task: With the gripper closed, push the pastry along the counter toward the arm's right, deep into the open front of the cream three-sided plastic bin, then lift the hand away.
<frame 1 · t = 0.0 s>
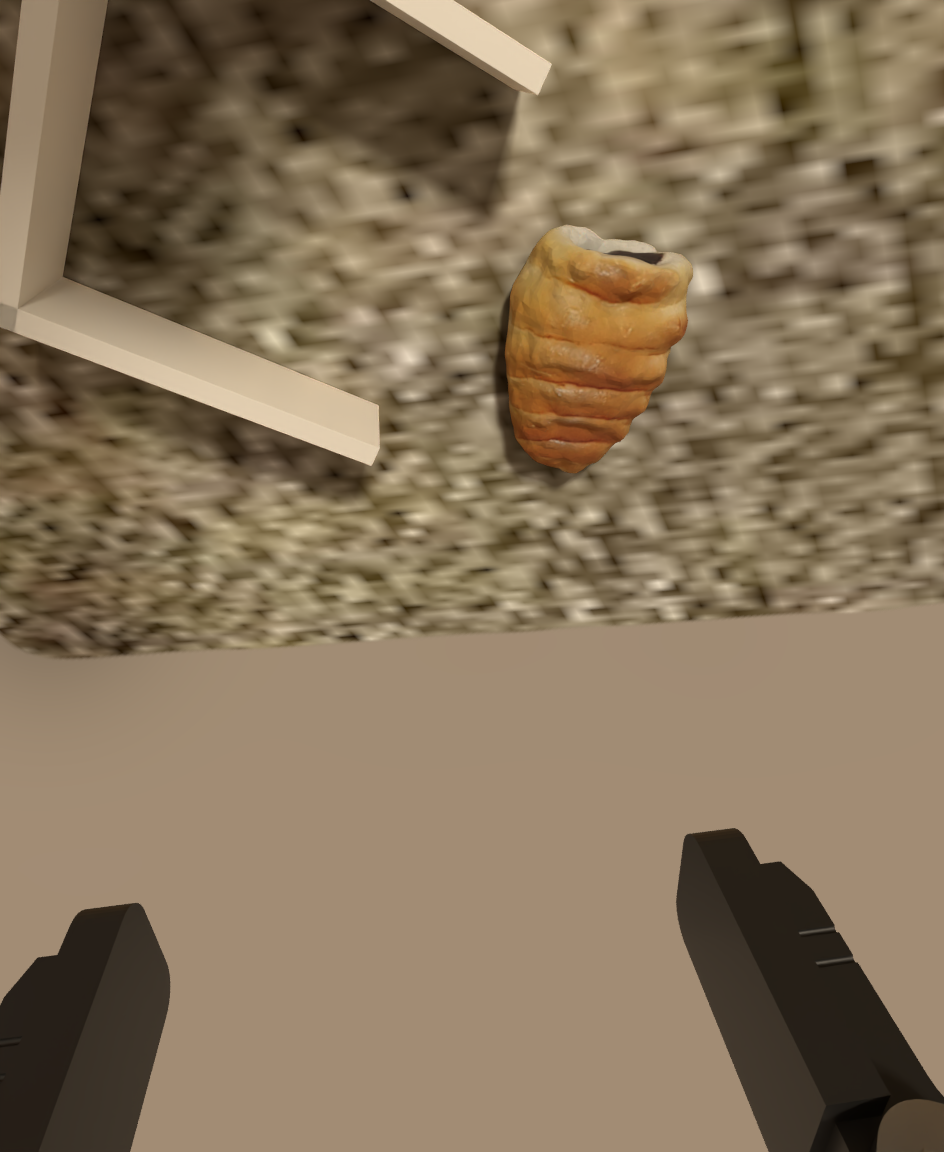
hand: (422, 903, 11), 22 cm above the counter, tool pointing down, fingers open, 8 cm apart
bin: (280, 186, 24), on the counter
pastry: (583, 333, 29), on the counter
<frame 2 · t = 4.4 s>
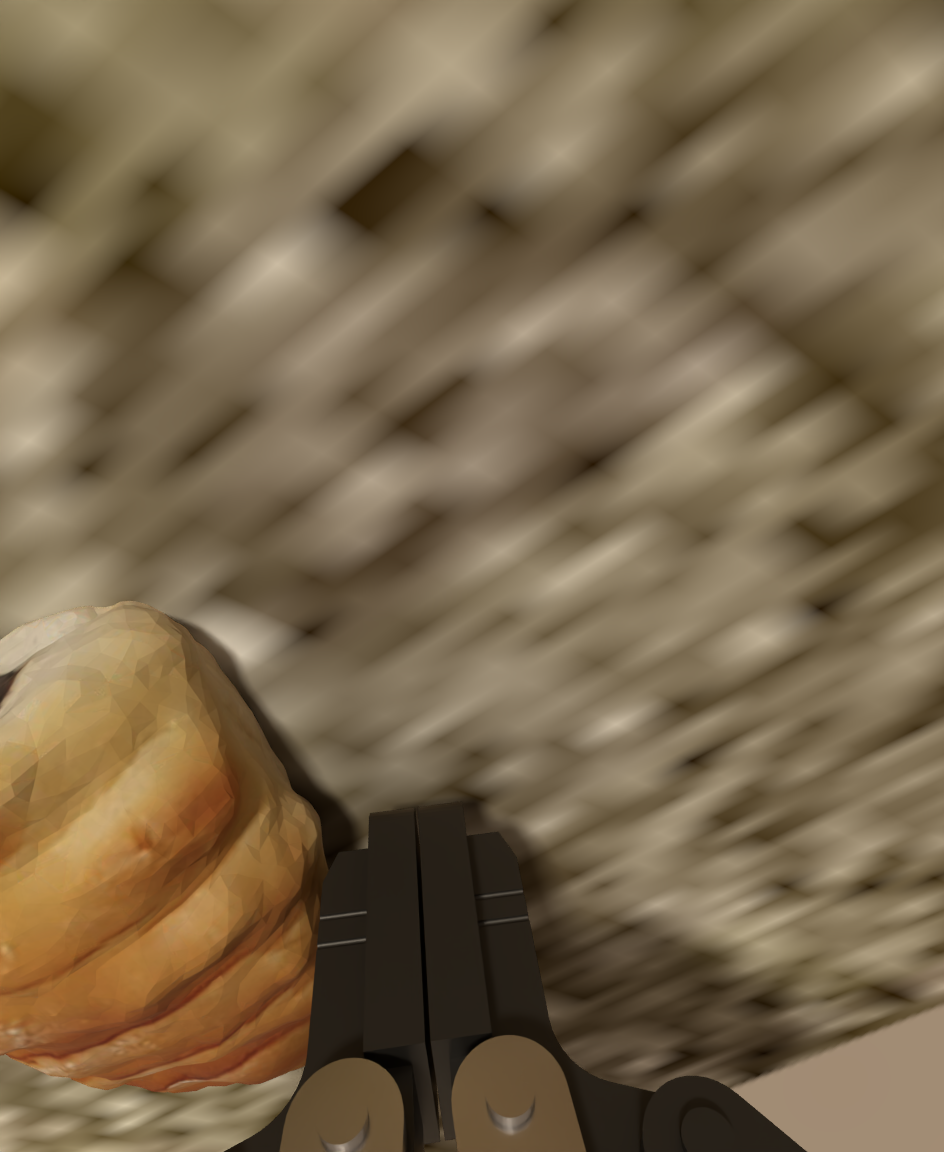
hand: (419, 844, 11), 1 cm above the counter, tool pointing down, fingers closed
pastry: (144, 795, 12), on the counter, touching gripper
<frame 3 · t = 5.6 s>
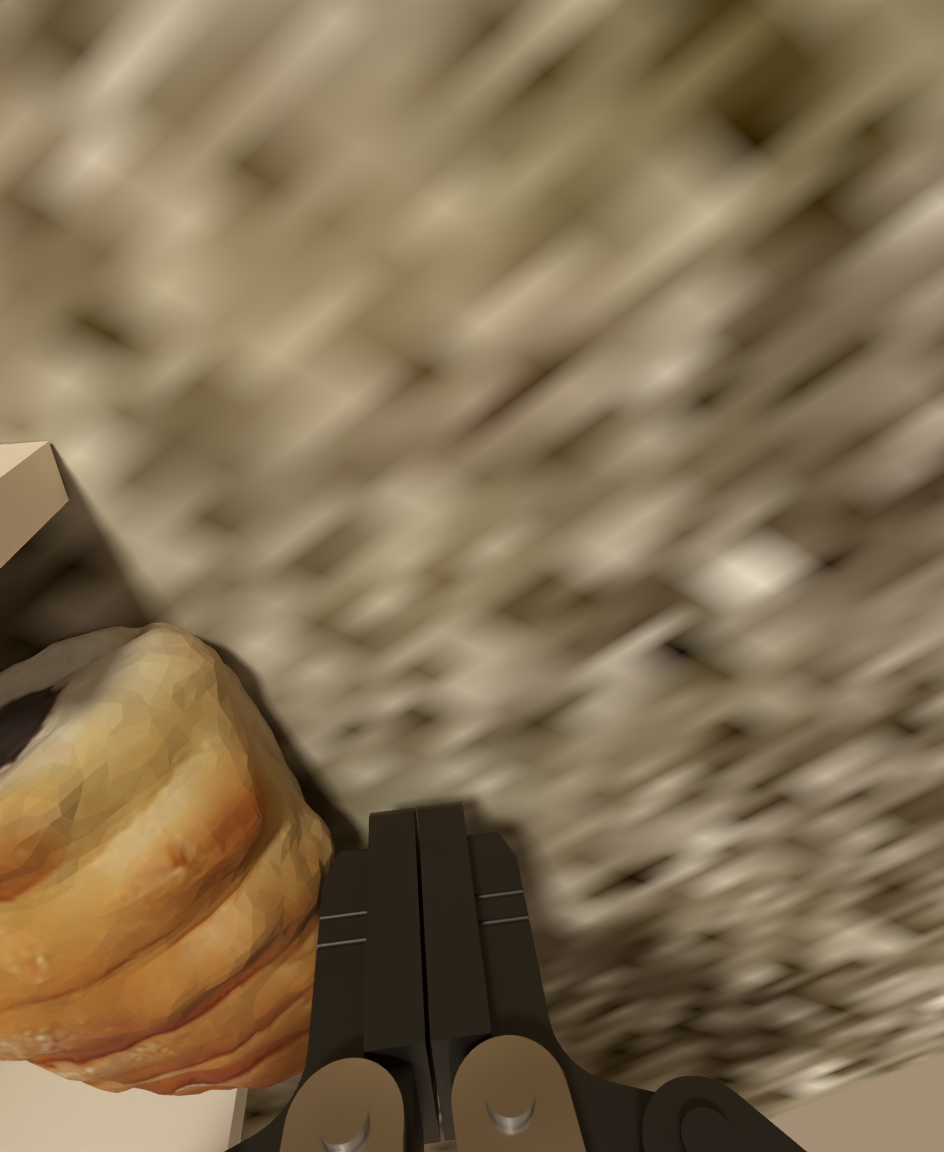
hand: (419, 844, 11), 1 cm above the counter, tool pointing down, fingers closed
pastry: (158, 806, 12), on the counter, touching gripper
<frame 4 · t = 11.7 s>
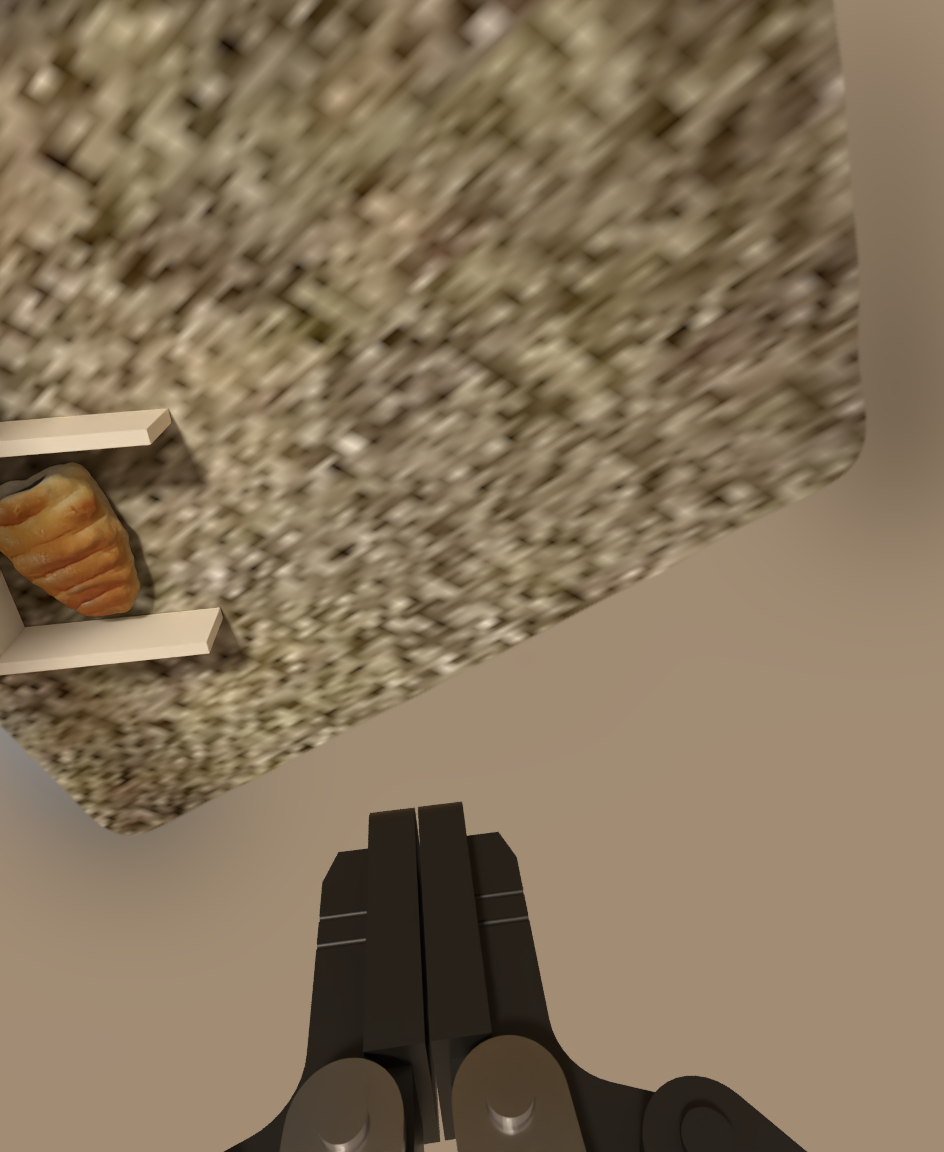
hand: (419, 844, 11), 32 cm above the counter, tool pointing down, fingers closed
bin: (93, 530, 42), on the counter
pastry: (78, 526, 42), on the counter
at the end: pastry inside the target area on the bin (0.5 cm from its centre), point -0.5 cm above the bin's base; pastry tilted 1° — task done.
